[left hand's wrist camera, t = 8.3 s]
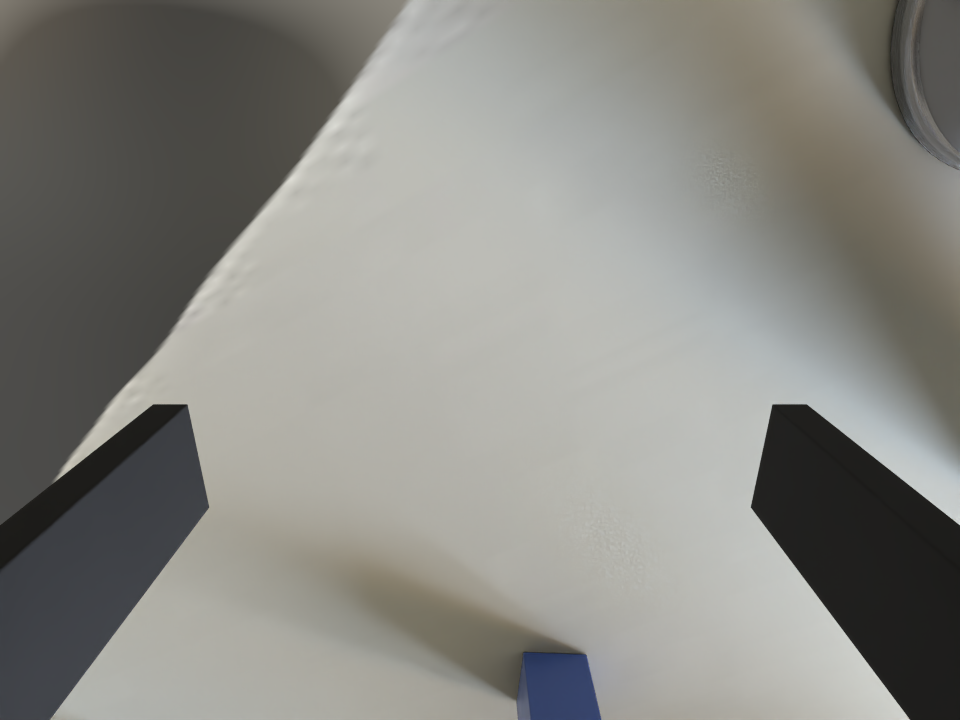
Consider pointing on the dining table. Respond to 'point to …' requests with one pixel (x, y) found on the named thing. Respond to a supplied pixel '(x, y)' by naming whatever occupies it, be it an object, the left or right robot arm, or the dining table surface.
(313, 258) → the dining table surface
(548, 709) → the brick
